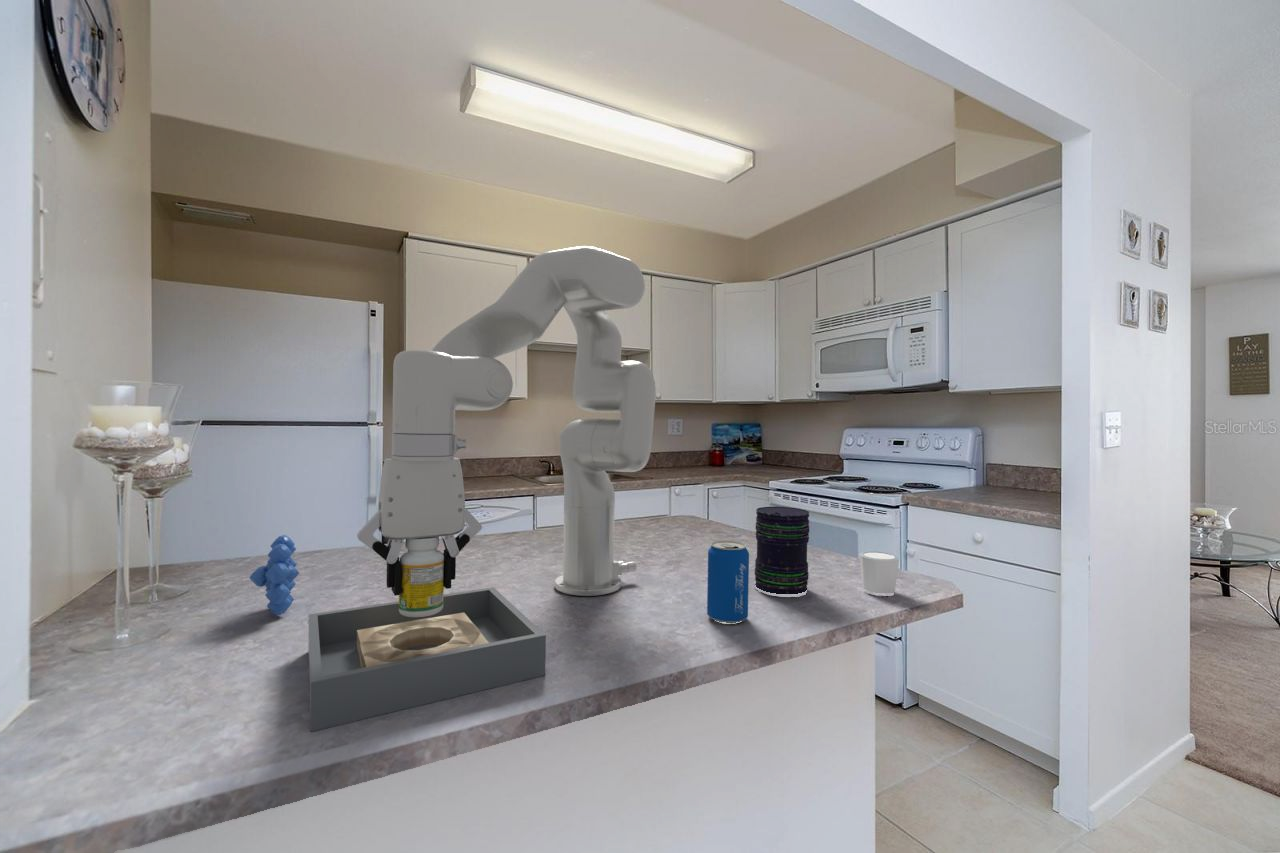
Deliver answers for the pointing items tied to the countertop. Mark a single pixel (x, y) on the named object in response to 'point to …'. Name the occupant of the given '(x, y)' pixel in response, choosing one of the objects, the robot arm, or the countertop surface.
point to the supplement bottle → (421, 578)
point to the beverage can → (728, 581)
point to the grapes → (278, 575)
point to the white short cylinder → (878, 571)
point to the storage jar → (782, 550)
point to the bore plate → (416, 639)
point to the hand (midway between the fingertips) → (421, 587)
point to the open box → (416, 659)
